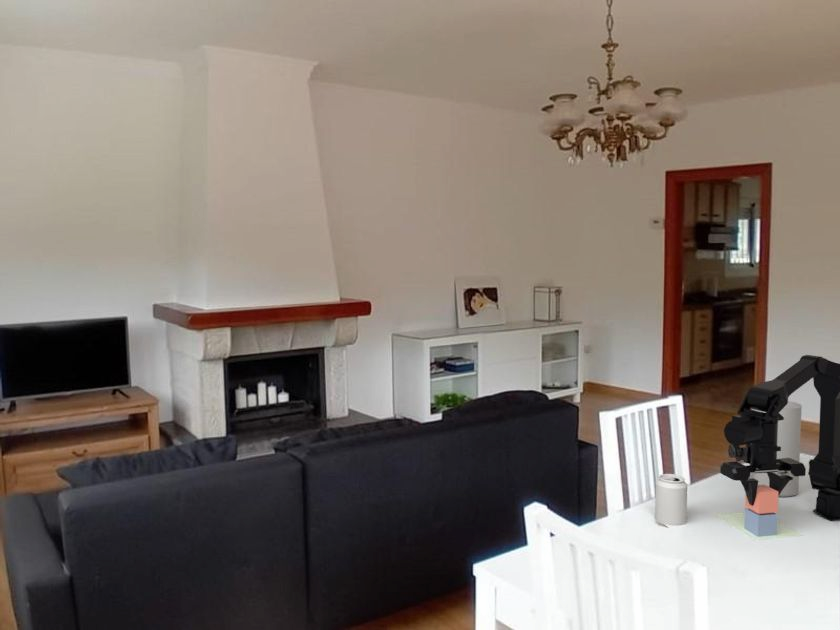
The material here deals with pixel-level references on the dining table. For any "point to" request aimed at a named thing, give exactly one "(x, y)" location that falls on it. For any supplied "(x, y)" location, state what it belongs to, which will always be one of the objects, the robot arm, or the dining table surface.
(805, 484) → the dining table surface
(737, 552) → the dining table surface
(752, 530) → the blue brick
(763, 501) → the red brick
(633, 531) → the dining table surface
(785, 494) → the gray cylinder
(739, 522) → the build board
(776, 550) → the dining table surface
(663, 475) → the can
